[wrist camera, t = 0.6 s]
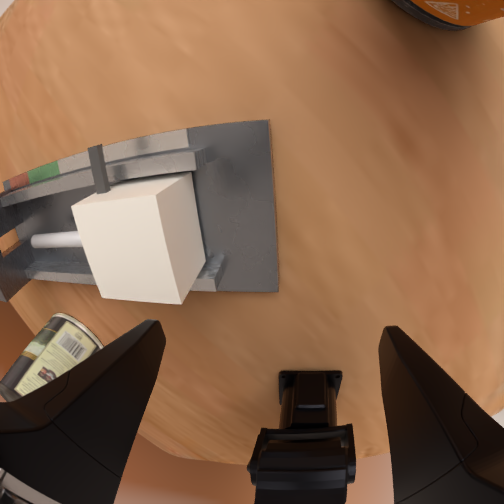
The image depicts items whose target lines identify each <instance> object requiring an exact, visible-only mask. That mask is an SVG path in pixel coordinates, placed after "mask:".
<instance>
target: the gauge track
mask: <svg viewBox="0 0 504 504" xmlns="http://www.w3.org/2000/svg"><path fill="white" fill-rule="evenodd" d="M102 148H103V154H104V160H105V165H106V170H107V175H108V180H109V185H111V184H113V183H115V182H120V181H126V180H133V179H139V178H146V177H154V176H161V175H169V174H177V173H186V172H191V174H192V180H193V187H194V194H195V200H196V207H197V213H198V219H199V225H200V231H201V237H202V242H203V248H204V254H205V259H206V262H205V263H204V265H203V267H202V269H201V271H200V272H199V274H198V276H197V278H196V279H195V281H194V283H193V285H192V287H191V288H190V290H189V291H215V292H216V291H241V292H278V291H279V260H278V239H277V219H276V202H275V185H274V170H273V155H272V141H271V128H270V120H256V121H243V122H233V123H223V124H215V125H207V126H200V127H193V128H187V129H180V130H174V131H169V132H163V133H158V134H153V135H148V136H144V137H139V138H134V139H130V140H126V141H122V142H118V143H114V144H110V145H106V146H102ZM3 185H4V190H5V191H3V192H1V193H0V237H1V236H3V235H4V234H6V233H7V232H9V231H10V230H12V229H13V228H15V229H16V232H17V235H18V238H19V241H18V242H17V243H15V244H14V245H12V246H11V247H10V248H8V249H7V250H6V251H4V252H3V253H1V250H0V300H1V301H4V302H7V301H8V300H9V299H11V298H12V297H13V296H14V295H15V294H16V293H17V292H18V291H19V290H20V289H21V288H22V287H23V286H24V285H26V284H27V283H28V282H29V281H30V280H31V279H39V280H49V281H58V282H69V283H80V284H91V285H97V284H96V281H95V279H94V276H93V273H92V271H91V268H90V265H89V263H88V260H87V257H86V254H85V251H84V248H83V247H64V248H34V247H33V246H32V244H31V238H32V236H33V235H36V234H46V233H58V232H70V231H78V229H77V226H76V223H75V219H74V216H73V212H72V208H71V206H72V205H74V204H76V203H78V202H79V201H81V200H83V199H85V198H87V197H88V196H90V195H92V194H94V193H96V189H95V184H94V179H93V175H92V170H91V164H90V159H89V153H88V151H85V152H82V153H78V154H75V155H72V156H69V157H66V158H63V159H60V160H57V161H54V162H51V163H49V164H46V165H43V166H40V167H38V168H35V169H33V170H30V171H28V172H25V173H23V174H20V175H18V176H15V177H13V178H11V179H9V180H6V181H4V182H3Z"/></svg>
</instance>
